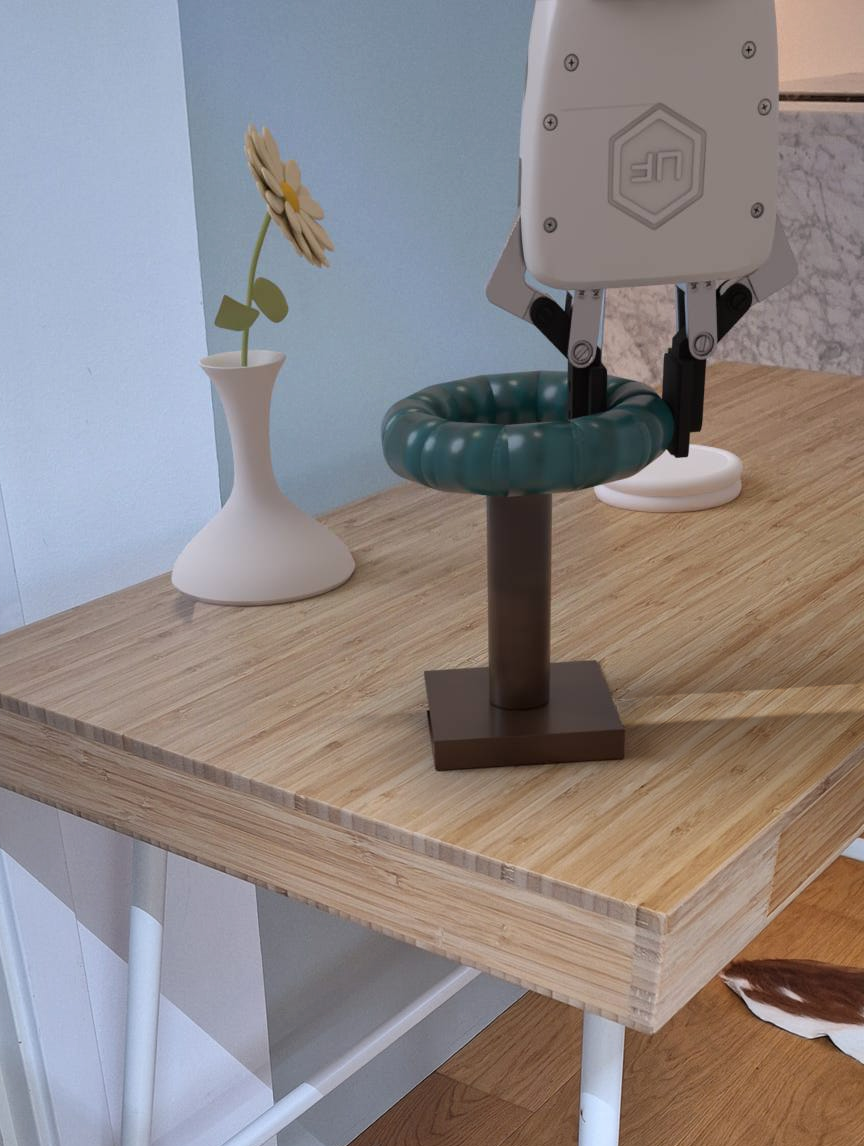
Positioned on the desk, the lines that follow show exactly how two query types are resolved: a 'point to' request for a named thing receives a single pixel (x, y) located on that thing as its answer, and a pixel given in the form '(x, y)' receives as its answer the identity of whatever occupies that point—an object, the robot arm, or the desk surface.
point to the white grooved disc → (678, 483)
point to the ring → (522, 435)
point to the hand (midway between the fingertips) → (633, 449)
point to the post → (521, 665)
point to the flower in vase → (262, 432)
